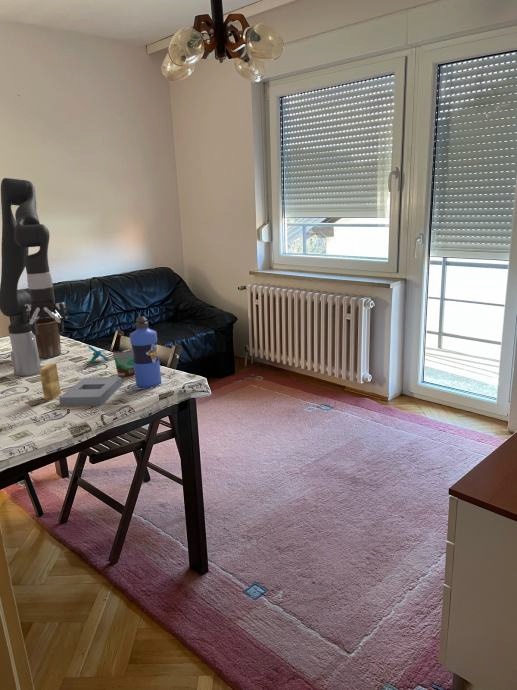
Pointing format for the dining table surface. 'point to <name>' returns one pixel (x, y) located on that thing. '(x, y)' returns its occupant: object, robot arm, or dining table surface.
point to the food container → (124, 363)
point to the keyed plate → (90, 391)
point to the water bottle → (145, 355)
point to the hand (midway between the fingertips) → (48, 333)
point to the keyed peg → (50, 381)
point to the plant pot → (48, 338)
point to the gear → (97, 354)
